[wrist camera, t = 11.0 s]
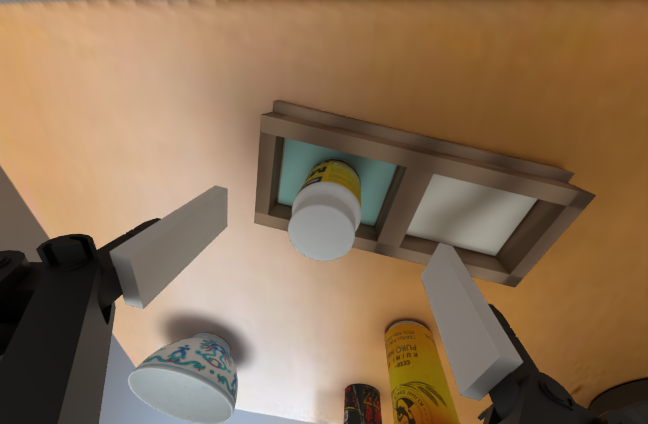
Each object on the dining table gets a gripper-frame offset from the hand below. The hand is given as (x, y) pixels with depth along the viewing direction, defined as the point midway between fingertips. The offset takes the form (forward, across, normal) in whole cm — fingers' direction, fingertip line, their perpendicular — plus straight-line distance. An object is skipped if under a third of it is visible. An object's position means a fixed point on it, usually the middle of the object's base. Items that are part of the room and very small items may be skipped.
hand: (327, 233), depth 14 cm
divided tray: (+9, -6, 0) cm, 11 cm away
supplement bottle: (+8, 0, 0) cm, 8 cm away
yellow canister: (+10, -14, +19) cm, 25 cm away
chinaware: (+9, +14, +34) cm, 38 cm away
